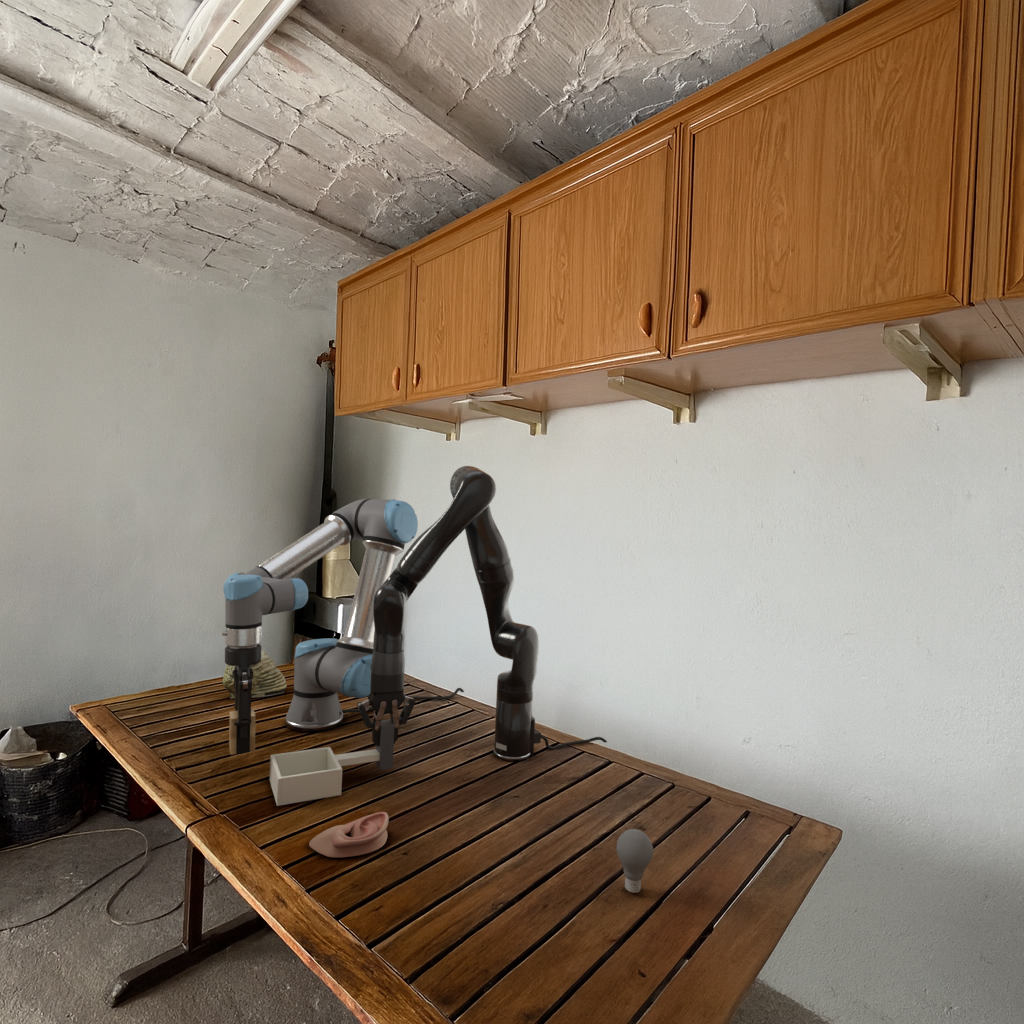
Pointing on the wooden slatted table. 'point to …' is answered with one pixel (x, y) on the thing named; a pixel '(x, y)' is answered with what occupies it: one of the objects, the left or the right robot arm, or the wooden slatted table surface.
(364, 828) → the anatomical model
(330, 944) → the wooden slatted table surface
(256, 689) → the fossil
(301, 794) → the handled bin
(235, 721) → the birch block
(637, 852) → the light bulb
